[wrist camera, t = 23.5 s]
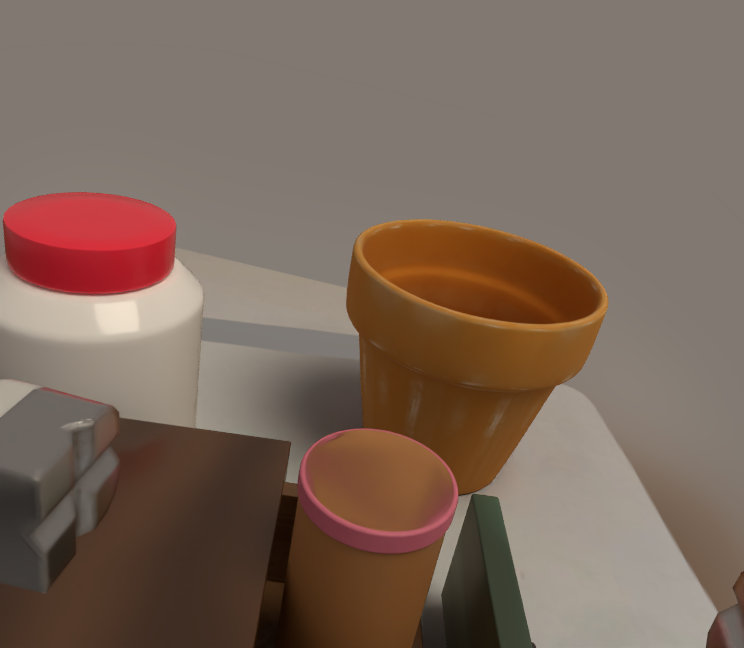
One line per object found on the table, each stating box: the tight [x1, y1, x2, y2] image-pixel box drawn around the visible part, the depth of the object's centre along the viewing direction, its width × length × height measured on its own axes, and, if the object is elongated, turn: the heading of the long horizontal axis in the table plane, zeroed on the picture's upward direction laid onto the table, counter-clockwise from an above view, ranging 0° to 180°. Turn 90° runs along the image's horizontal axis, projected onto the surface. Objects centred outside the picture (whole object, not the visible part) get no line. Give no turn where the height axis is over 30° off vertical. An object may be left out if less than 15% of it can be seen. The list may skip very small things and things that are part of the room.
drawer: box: [255, 482, 536, 648], centre depth 26 cm, size 15×11×6 cm
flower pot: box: [346, 219, 608, 495], centre depth 41 cm, size 14×14×13 cm
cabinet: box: [0, 418, 291, 648], centre depth 25 cm, size 15×13×8 cm
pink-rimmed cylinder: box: [274, 428, 458, 648], centre depth 25 cm, size 5×5×10 cm
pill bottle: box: [0, 192, 204, 428], centre depth 34 cm, size 10×10×14 cm
